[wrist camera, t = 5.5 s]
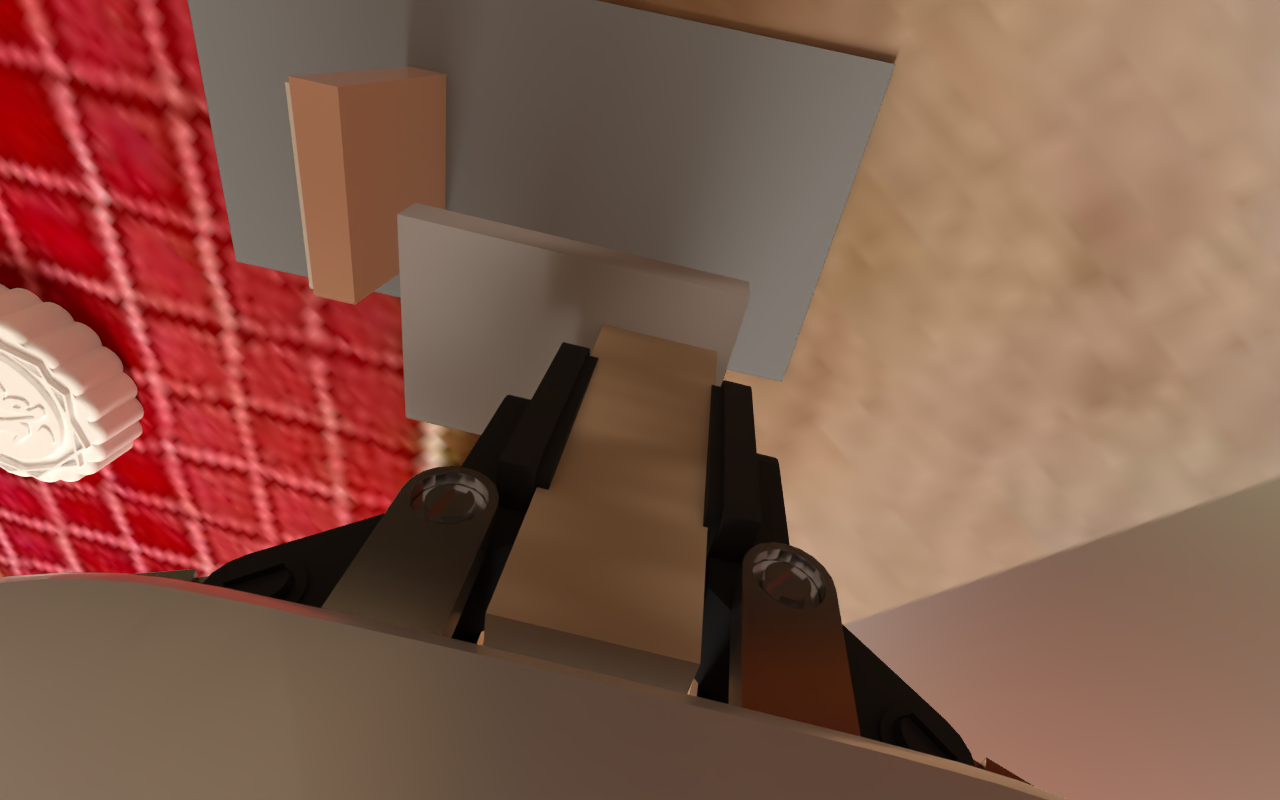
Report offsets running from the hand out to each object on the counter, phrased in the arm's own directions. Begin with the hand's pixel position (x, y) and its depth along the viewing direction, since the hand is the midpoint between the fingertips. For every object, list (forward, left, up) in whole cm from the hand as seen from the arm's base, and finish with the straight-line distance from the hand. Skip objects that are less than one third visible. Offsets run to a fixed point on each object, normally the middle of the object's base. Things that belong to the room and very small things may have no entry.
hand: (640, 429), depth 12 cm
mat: (-6, +5, -17) cm, 19 cm away
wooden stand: (-1, +2, -2) cm, 3 cm away
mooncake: (-39, +10, -17) cm, 43 cm away
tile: (-9, +8, -17) cm, 20 cm away
